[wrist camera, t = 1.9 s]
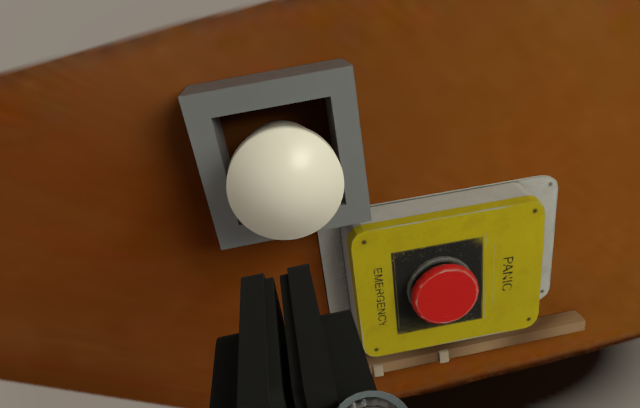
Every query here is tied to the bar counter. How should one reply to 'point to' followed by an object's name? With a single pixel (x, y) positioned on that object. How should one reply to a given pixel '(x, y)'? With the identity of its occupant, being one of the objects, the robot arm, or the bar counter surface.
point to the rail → (479, 343)
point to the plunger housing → (264, 92)
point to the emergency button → (444, 265)
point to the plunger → (284, 181)
